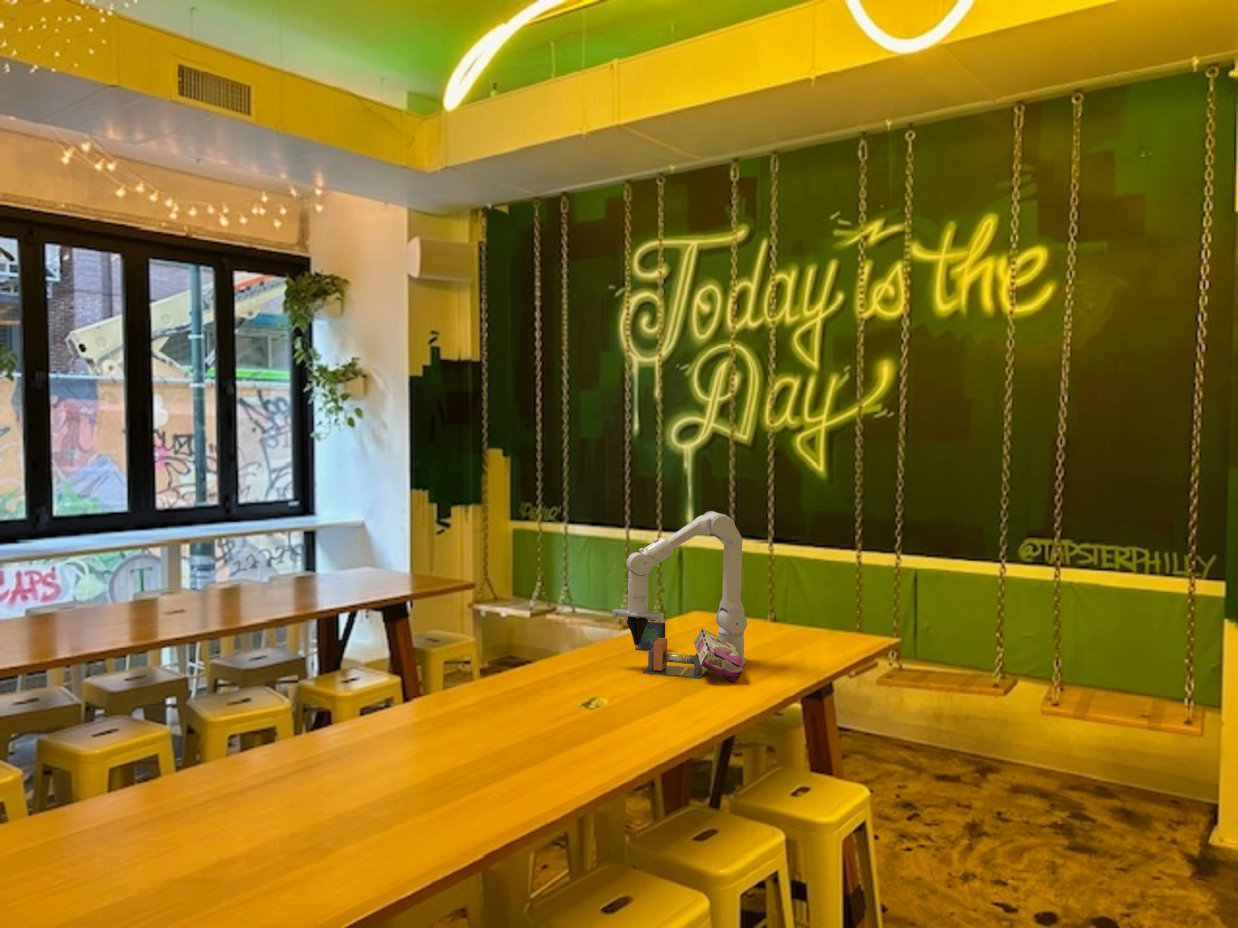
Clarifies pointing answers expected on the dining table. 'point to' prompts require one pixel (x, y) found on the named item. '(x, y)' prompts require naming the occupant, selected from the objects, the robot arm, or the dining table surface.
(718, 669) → the candy bar box
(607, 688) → the dining table surface
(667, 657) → the pipe rig
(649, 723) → the dining table surface
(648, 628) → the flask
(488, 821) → the dining table surface
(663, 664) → the orange block
